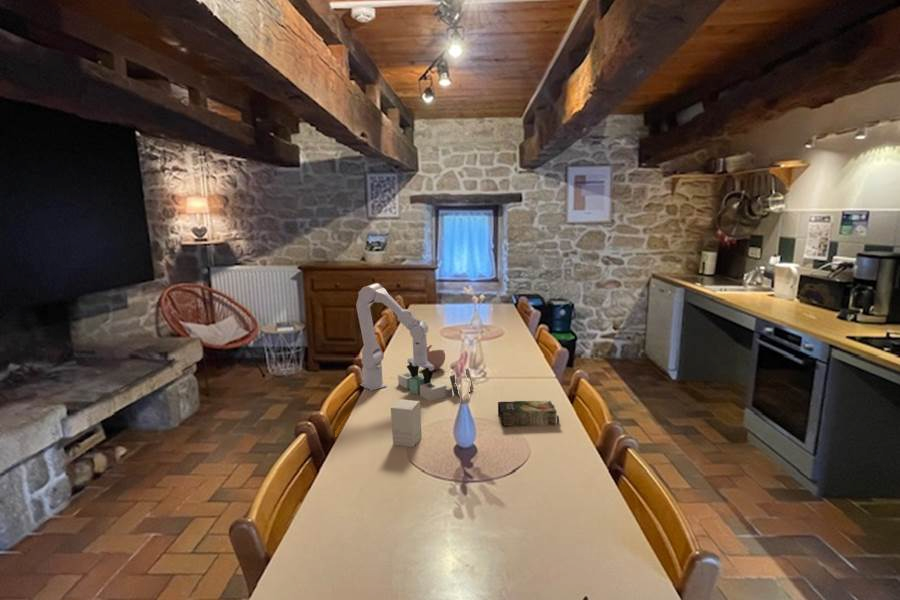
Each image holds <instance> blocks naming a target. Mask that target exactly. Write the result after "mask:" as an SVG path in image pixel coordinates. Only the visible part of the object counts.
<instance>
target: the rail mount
mask: <svg viewBox="0 0 900 600" xmlns="http://www.w3.org/2000/svg"><path fill="white" fill-rule="evenodd" d="M420 374H421V373H420V372H418V375H420ZM411 377H412V376H411V374H410V371H407V372H404V373H403V372H402V373H399V374H397V380H398V381H397V382H398V386H400V387H402V388H405V389H406V390H410V385H409V378H411ZM419 396H420V397H421V398H423V399H425V400H426V401H428V402H432V401H435V400H439V399H442V398H445V397H447V398H449V397H452V396H453V388H452V387H450V386H448V385H446V384H444V383H442V382H441V381H440V382H439V381H437V380H435V379H433V378H431V381H430V383H427V384H423V385H420V394H419Z"/></svg>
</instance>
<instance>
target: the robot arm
mask: <svg viewBox="0 0 900 600" xmlns="http://www.w3.org/2000/svg"><path fill="white" fill-rule="evenodd" d="M357 293H358V296H357V301H356V305H355V307H356V311H357V318H358V322H359V327H360V331H361V337H362V342H363V348H362V351H361V354H362V355H361V364H362V368H361V381H362V382H361V383H360V386H362V387H363V388H365V389H366V388H367V389H366V390H368V389H369V390H368V391H375V390H379V389H383V388H385V387H387V386H388V385H387V384H385V383H383V382H384V381H383V366H382V361H383V360H384V356H385V355H384V352H383V351H382V350H381V345H380V344H378V342H377V338H376V331H375V326H374V323H373V317H372V312H371V311H372V310H371V306H372V305H373V304H374V303H382V304H383V305H385V306H386V307H387V308H388V309H390V310H391V311H392V312H393V313H394V315H396V316H397V317H396V318H397V320H398V322H399V323H400V324H402V325H403V326H404V327H405V328H406V329H407V330H408V331H409V334H410V337H411V338H412V353H413V354H412V355H413V356H412V357H413V358H412V357H410V358H408V359H407V364H408V365H407V366H406V369H408V372H410V374H411V376H412V377H414V376H417V375H418V373H419V369H420V367H421V368H423V369H422V370H421V374H423V377H424V384H427V383H430V381H431V379H432V377H433V374H435V373H434V372H435V371H436V369H434V365H432V364H431V363H429V362H428V361H427V347H428V344H427V343H428V342H427V333H428V332H429V331H428V330H429V327H428V324H427V323H426V322H425V321H421V319H418V318H417V317H416V316H415V315H414V314H413V312H412V310H409V309H403V308H402V307H401V305H400V304H399V303H398V302H397V301H396V300H395V299H394V298H393V297H392V296H391V295H390V294H389V293H388V291H387V290H386V288H384V287H383V286H382V285H381V284H380V283H377V282H375V283H374V282H373V283H372V284H370V285H367V286H363V287H362V288H361V289H359V291H358V292H357Z"/></svg>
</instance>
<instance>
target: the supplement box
mask: <svg viewBox="0 0 900 600" xmlns="http://www.w3.org/2000/svg"><path fill="white" fill-rule="evenodd" d="M390 415H391V416H390V417H391V431H392V432H391V435H392V445H396V446H404V447H410V448H414V447H415V444H417V443H419V441H420V440H421V439H420V438H422V437H423V436H422V419H421V416H422V415H421V401H420V400H413V399H412V400H411V399H401V398H400V399H399V400H398V401H396V402H395V403H394V404H393V405H392V406H391V407H390ZM419 439H420V440H419Z"/></svg>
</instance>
